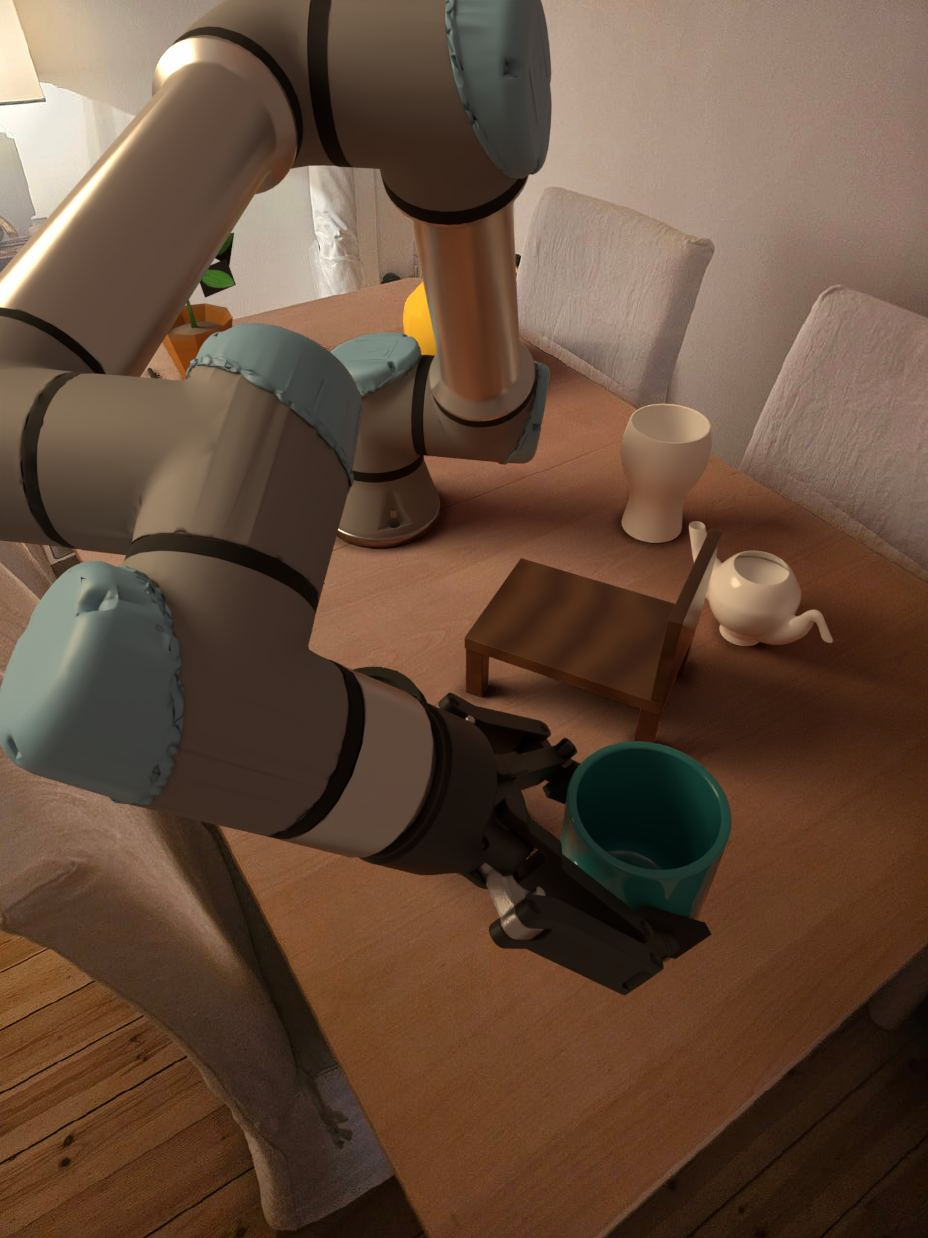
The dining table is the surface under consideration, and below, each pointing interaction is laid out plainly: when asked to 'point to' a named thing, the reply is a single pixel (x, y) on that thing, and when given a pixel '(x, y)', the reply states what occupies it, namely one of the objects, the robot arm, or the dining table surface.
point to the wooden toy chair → (592, 634)
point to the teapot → (756, 597)
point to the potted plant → (202, 314)
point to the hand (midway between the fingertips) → (652, 867)
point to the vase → (419, 321)
